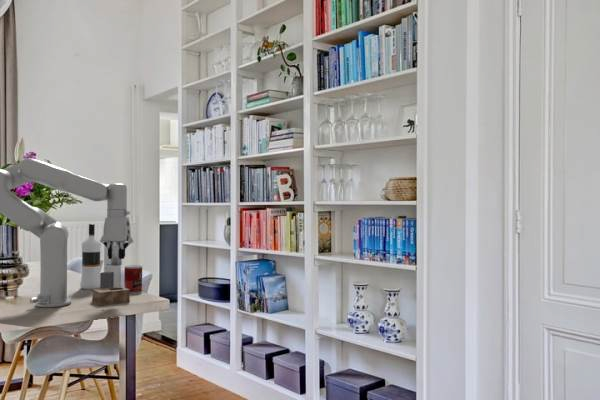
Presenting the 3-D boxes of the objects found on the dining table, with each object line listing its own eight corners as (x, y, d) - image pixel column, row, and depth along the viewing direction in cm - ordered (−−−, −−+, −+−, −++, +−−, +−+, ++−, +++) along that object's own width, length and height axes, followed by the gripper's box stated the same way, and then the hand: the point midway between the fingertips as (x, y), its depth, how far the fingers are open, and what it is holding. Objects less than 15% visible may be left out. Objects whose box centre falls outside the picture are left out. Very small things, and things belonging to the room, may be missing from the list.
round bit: (116, 265, 214) (117, 241, 214) (109, 265, 215) (109, 240, 215) (123, 264, 217) (123, 240, 217) (115, 264, 219) (116, 240, 219)
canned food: (135, 292, 238) (135, 267, 238) (120, 290, 241) (120, 266, 241) (145, 289, 245) (145, 265, 245) (131, 288, 248) (131, 264, 248)
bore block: (99, 305, 208) (99, 292, 208) (92, 301, 215) (92, 289, 215) (129, 301, 215) (129, 289, 215) (121, 298, 222) (121, 286, 222)
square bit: (109, 296, 226) (109, 273, 226) (100, 296, 226) (100, 272, 226) (113, 294, 230) (113, 271, 230) (104, 294, 230) (104, 271, 230)
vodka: (79, 290, 241) (80, 224, 241) (80, 286, 249) (81, 223, 249) (101, 289, 244) (102, 224, 244) (101, 286, 253) (102, 223, 253)
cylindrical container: (115, 293, 234) (115, 236, 234) (100, 292, 236) (101, 236, 236) (123, 290, 241) (124, 235, 241) (109, 289, 243) (110, 235, 243)
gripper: (140, 213, 219) (139, 258, 219) (101, 213, 221) (101, 257, 221) (132, 214, 211) (132, 260, 211) (92, 213, 213) (92, 259, 213)
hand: (116, 258), depth 216 cm, fingers closed on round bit, 4 cm apart
